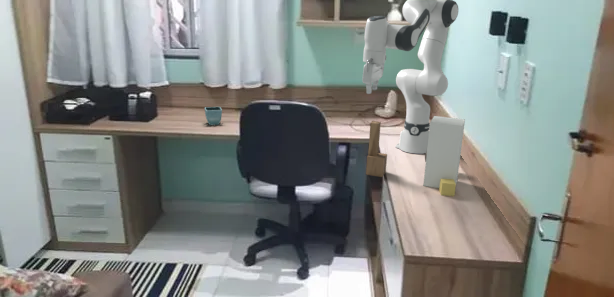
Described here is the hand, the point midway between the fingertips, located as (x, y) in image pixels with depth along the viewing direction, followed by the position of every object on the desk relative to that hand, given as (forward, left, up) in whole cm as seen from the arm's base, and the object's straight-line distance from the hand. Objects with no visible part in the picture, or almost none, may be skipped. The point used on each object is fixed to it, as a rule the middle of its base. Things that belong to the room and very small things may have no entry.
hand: (371, 91), depth 204 cm
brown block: (+2, +1, -23) cm, 23 cm away
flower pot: (-37, -98, -34) cm, 110 cm away
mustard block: (+12, +35, -34) cm, 50 cm away
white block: (+2, +31, -34) cm, 46 cm away
